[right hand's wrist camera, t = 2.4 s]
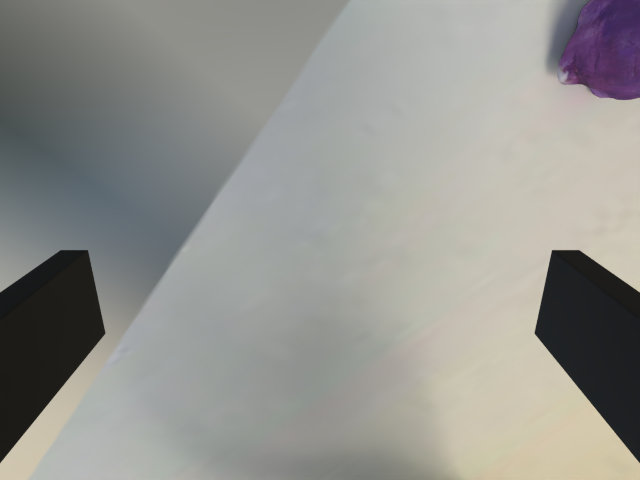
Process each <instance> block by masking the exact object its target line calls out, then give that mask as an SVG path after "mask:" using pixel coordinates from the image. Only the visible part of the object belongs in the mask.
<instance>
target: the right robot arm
mask: <svg viewBox="0 0 640 480" xmlns="http://www.w3.org/2000/svg"><path fill="white" fill-rule="evenodd" d="M104 335H105V329H104V325H103V320H102V315H101V310H100V305H99V301H98V296H97V291H96V286H95V282H94V277H93V272H92V267H91V263H90V258H89V253H88V250H60V251H59V252H58V253H56V254H55V255H53V256H52V257H50V258H49V259H48V260H46V261H45V262H43V263H42V264H40V265H39V266H38V267H36V268H35V269H33V270H32V271H30V272H29V273H28V274H26V275H25V276H23V277H22V278H20V279H19V280H18V281H16V282H15V283H13V284H12V285H10V286H9V287H8V288H6V289H5V290H3V291H2V292H0V463H1V461H2V460H3V459H4V458H5V456H6V455H7V454H8V453H9V452H10V450H11V449H12V448H13V447H14V445H15V444H16V443H17V442H18V440H19V439H20V438H21V437H22V436H23V434H24V433H25V432H26V430H27V429H28V428H29V427H30V426H31V424H32V423H33V422H34V421H35V420H36V418H37V417H38V416H39V415H40V413H41V412H42V411H43V410H44V408H45V407H46V406H47V405H48V404H49V402H50V401H51V400H52V399H53V397H54V396H55V395H56V394H57V392H58V391H59V390H60V389H61V387H62V386H63V385H64V384H65V383H66V381H67V380H68V379H69V378H70V376H71V375H72V374H73V373H74V371H75V370H76V369H77V368H78V367H79V365H80V364H81V363H82V362H83V360H84V359H85V358H86V357H87V355H88V354H89V353H90V352H91V351H92V349H93V348H94V347H95V346H96V344H97V343H98V342H99V341H100V339H101V338H102V337H103V336H104ZM535 335H536V336H537V337H538V338H539V339H540V341H541V342H542V343H543V344H544V346H545V347H546V348H547V349H548V351H549V352H550V353H551V354H552V355H553V357H554V358H555V359H556V360H557V362H558V363H559V364H560V365H561V367H562V368H563V369H564V370H565V371H566V373H567V374H568V375H569V376H570V378H571V379H572V380H573V381H574V383H575V384H576V385H577V386H578V388H579V389H580V390H581V391H582V392H583V394H584V395H585V396H586V397H587V399H588V400H589V401H590V402H591V404H592V405H593V406H594V407H595V408H596V410H597V411H598V412H599V413H600V415H601V416H602V417H603V418H604V420H605V421H606V422H607V423H608V424H609V426H610V427H611V428H612V429H613V431H614V432H615V433H616V434H617V436H618V437H619V438H620V439H621V440H622V442H623V443H624V444H625V445H626V447H627V448H628V449H629V450H630V452H631V453H632V454H633V455H634V456H635V458H636V459H637V460H638V461H639V463H640V292H638V291H637V290H635V289H634V288H632V287H631V286H630V285H628V284H627V283H625V282H624V281H622V280H621V279H620V278H618V277H617V276H615V275H614V274H612V273H611V272H610V271H608V270H607V269H605V268H604V267H602V266H601V265H600V264H598V263H597V262H595V261H594V260H592V259H591V258H590V257H588V256H587V255H585V254H584V253H582V252H581V251H580V250H552V253H551V258H550V263H549V267H548V272H547V277H546V282H545V286H544V291H543V296H542V301H541V305H540V310H539V315H538V320H537V324H536V329H535Z"/></svg>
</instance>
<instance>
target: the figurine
mask: <svg viewBox="0 0 640 480" xmlns="http://www.w3.org/2000/svg"><path fill="white" fill-rule="evenodd" d="M558 81H559V82H560V83H561V84H564V85H573V84H583V85H585V86H588V87H589V88H590V90H591V92H592V93H593V94H594V95H595V96H597V97H600V98H614V99H617V100H630V99H636V98H640V0H590V1H589V2H588V3H587V4H586V5H585V6H584V7H583V8H582V10H581V12H580V15H579V18H578V26H577V28H576V31H575V33H574V34H573V35H572V37H571V39H570V40H569V42H568V44H567V46H566V49H565V51H564V53H563V55H562V57H561V59H560V62H559V65H558Z"/></svg>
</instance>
